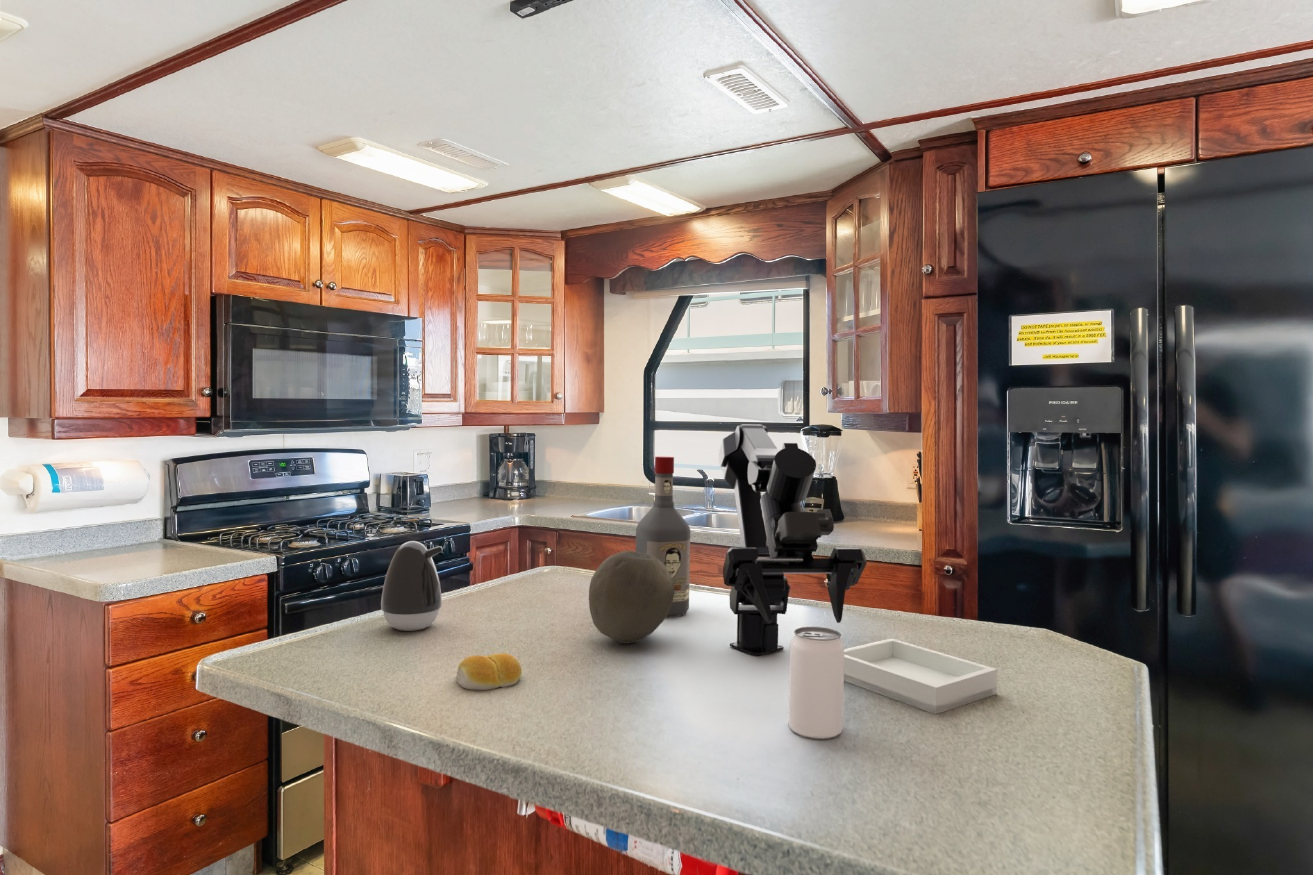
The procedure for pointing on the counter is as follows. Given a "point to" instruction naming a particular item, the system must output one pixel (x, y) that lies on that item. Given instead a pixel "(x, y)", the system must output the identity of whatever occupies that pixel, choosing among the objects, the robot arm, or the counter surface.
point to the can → (816, 683)
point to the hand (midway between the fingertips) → (804, 621)
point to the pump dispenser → (412, 588)
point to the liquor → (667, 535)
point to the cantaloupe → (630, 596)
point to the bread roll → (488, 671)
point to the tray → (918, 675)
